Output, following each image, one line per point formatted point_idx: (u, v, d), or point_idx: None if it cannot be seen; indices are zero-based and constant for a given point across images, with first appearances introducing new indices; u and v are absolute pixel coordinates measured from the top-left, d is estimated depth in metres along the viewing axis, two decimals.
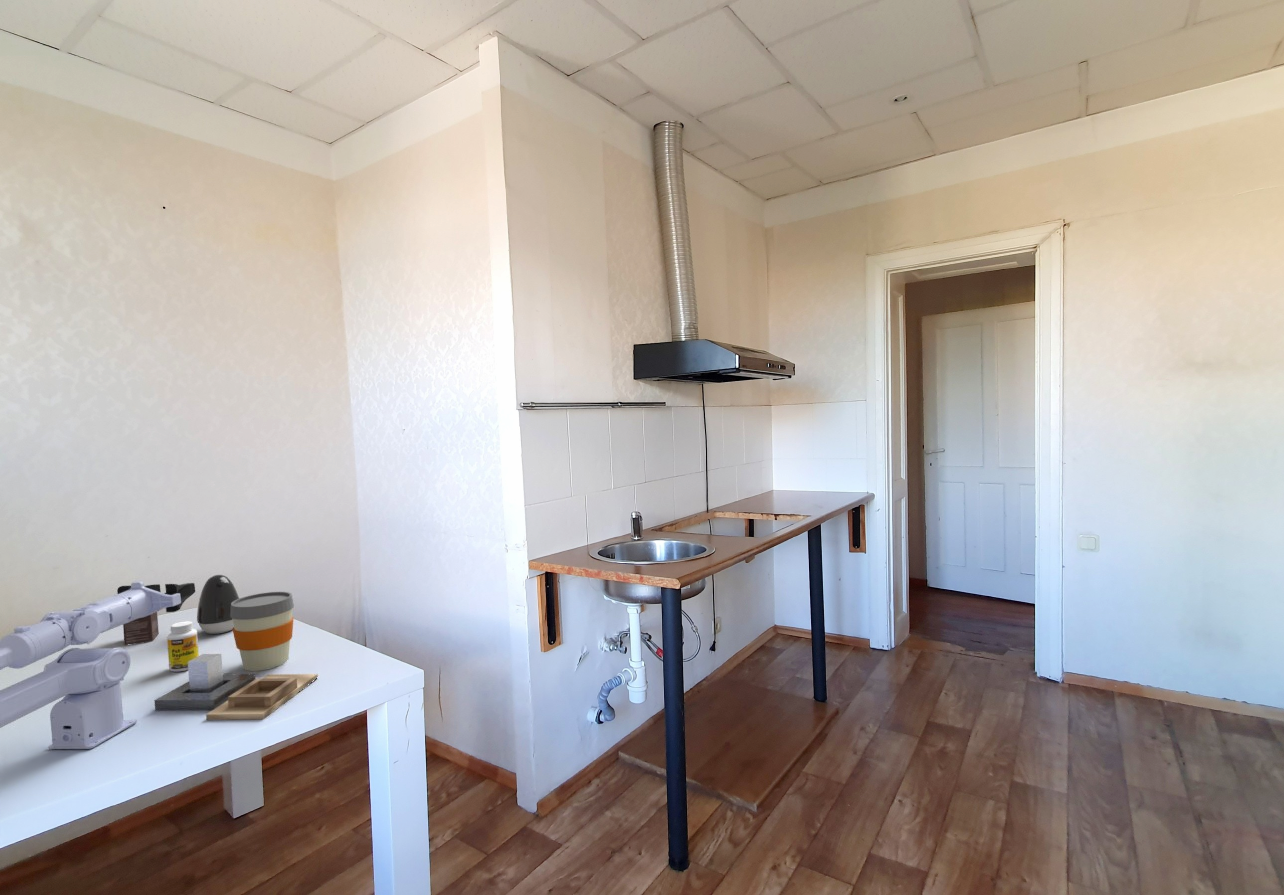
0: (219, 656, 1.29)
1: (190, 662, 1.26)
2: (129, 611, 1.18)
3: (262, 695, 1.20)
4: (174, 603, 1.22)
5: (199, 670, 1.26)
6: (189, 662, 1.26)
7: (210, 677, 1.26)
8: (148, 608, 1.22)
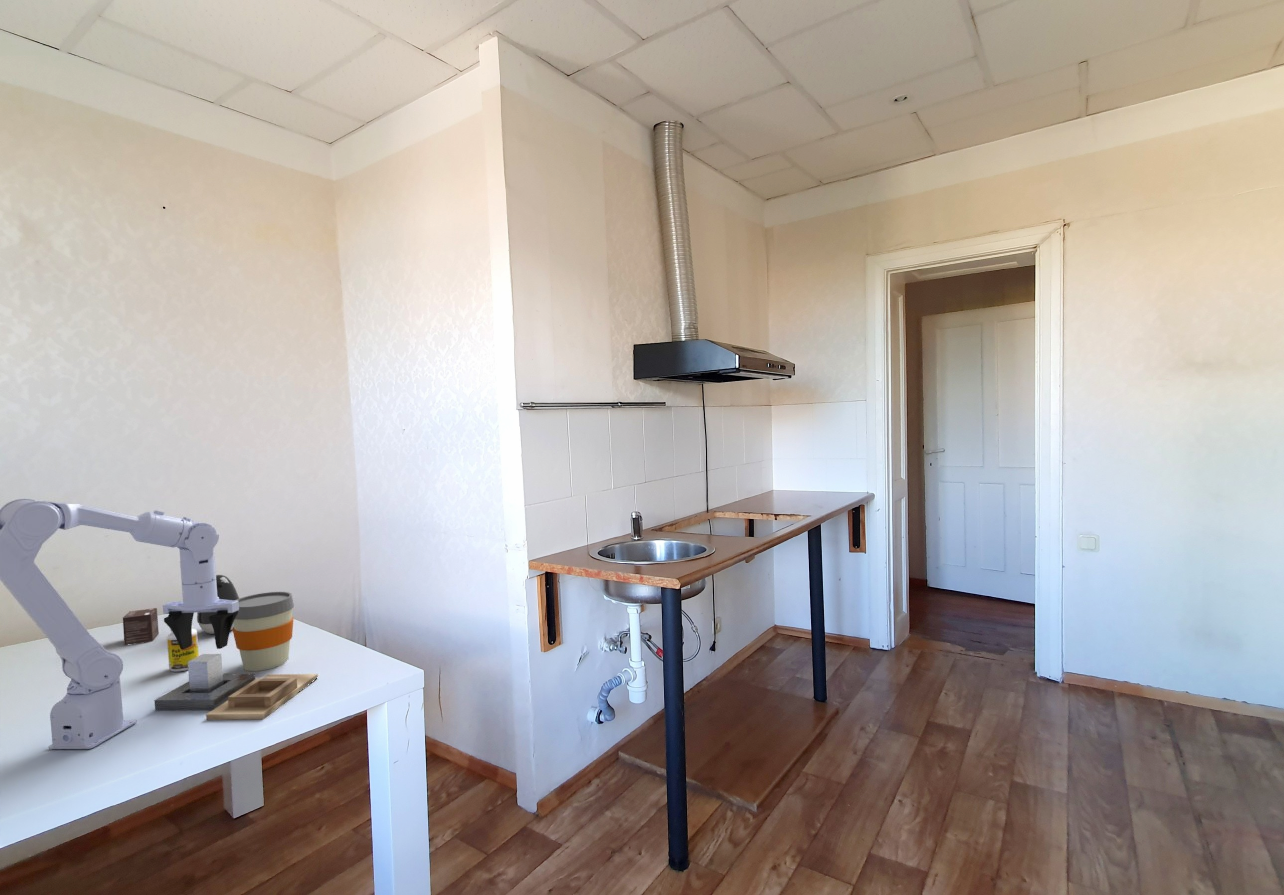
0: (219, 656, 1.29)
1: (190, 662, 1.26)
2: (204, 580, 1.25)
3: (262, 695, 1.20)
4: (233, 604, 1.26)
5: (199, 670, 1.26)
6: (189, 662, 1.26)
7: (210, 677, 1.26)
8: (209, 600, 1.26)
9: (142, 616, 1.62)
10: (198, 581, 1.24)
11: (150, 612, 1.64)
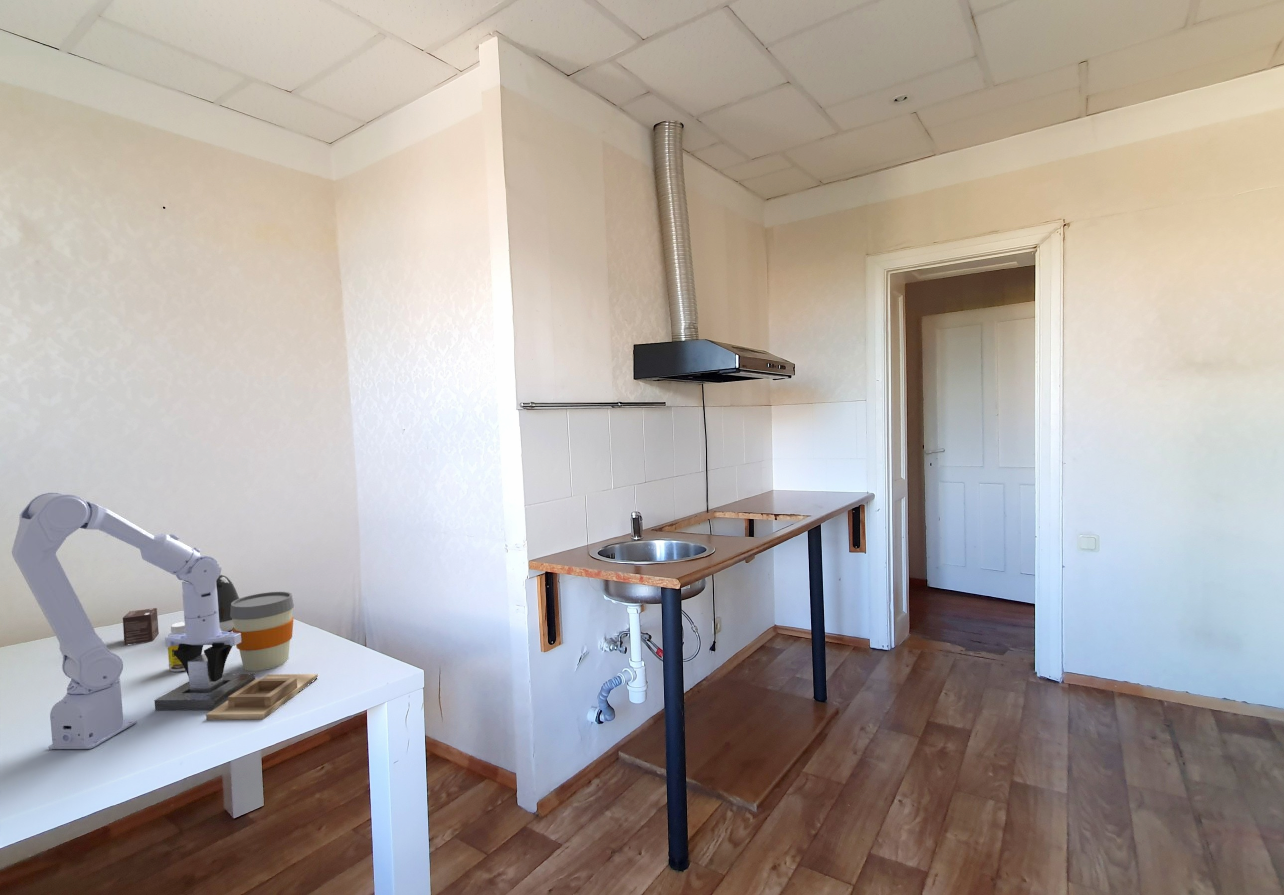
0: None
1: (190, 662, 1.26)
2: (207, 613, 1.25)
3: (262, 695, 1.20)
4: (236, 636, 1.27)
5: (199, 670, 1.26)
6: (189, 662, 1.26)
7: (210, 677, 1.26)
8: (211, 633, 1.26)
9: (142, 616, 1.62)
10: (200, 614, 1.25)
11: (150, 612, 1.64)
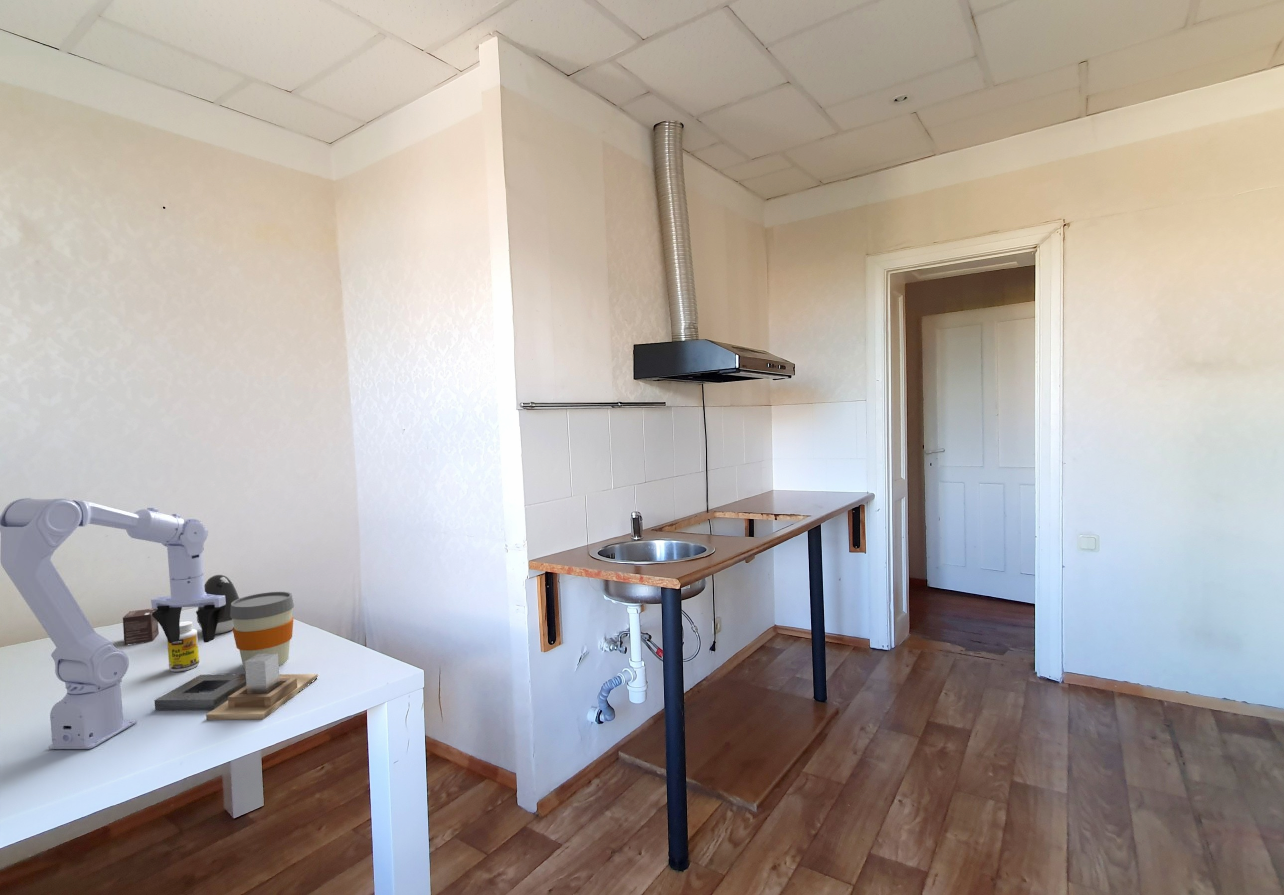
0: (276, 655, 1.25)
1: (247, 662, 1.22)
2: (196, 574, 1.29)
3: (262, 695, 1.20)
4: (220, 598, 1.29)
5: (256, 670, 1.22)
6: (246, 662, 1.22)
7: (268, 677, 1.23)
8: (196, 595, 1.29)
9: (142, 616, 1.62)
10: (191, 575, 1.28)
11: (150, 612, 1.64)
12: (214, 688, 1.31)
